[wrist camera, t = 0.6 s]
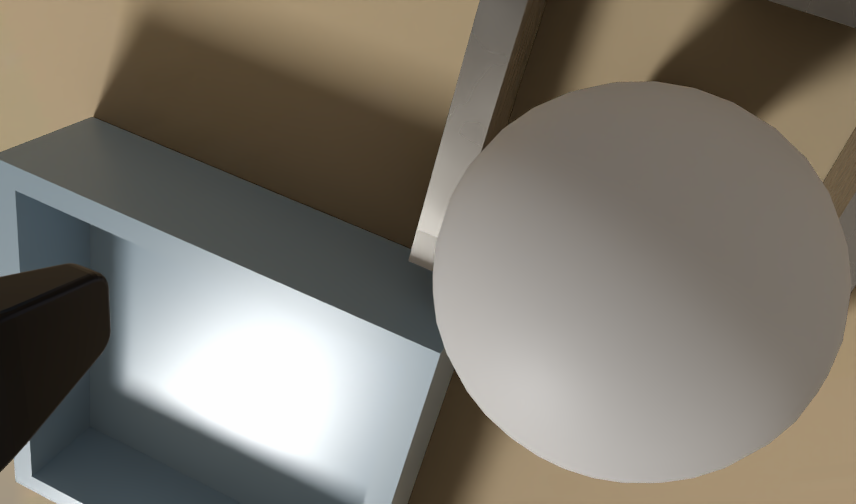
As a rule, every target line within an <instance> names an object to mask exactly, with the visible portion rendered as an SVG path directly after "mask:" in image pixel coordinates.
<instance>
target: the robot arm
mask: <svg viewBox="0 0 856 504" xmlns="http://www.w3.org/2000/svg"><path fill="white" fill-rule="evenodd" d="M110 334H111V319H110V299H109V285H108V282H107V280H106V278H105V276H103V275H102V274H101V273H99V272H96V271H94V270H91V269H89V268H86V267H84V266H81V265H79V264H74V263H67V264H61V265H56V266H51V267H46V268H41V269H36V270H31V271H26V272H21V273H16V274H11V275H6V276H1V277H0V472H1V471H2V470H3V469H4V468H5V467H6V466H7V465H8V464H9V463H10V462H11V461H12V460H13V458H14V457H15V456H16V455H17V454H18V453H19V452H20V451H21V450H22V449H23V447H24V446H25V445H26V444H27V443H28V442H29V441H30V440H31V438H32V437H33V436H34V435H35V434H36V432H37V431H38V430H39V429H40V428H41V426H42V425H43V424H44V423H45V422H46V420H47V419H48V418H49V417H50V416H51V414H52V413H53V412H54V411H55V409H56V408H57V407H58V406H59V405H60V403H61V402H62V401H63V400H64V399H65V397H66V396H67V395H68V394H69V393H70V391H71V390H72V389H73V388H74V387H75V385H76V384H77V383H78V382H79V381H80V379H81V378H82V377H83V376H84V375H85V373H86V372H87V371H88V370H89V369H90V367H91V366H92V365H93V364H94V363H95V361H96V360H97V359H98V358H99V356H100V355H101V354H102V353H103V351H104V350H105V348H106V346H107V344H108V341H109V339H110Z"/></svg>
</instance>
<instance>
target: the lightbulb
mask: <svg viewBox="0 0 856 504" xmlns="http://www.w3.org/2000/svg"><path fill="white" fill-rule="evenodd" d="M851 287H852V283H851V273H850V263H849V254H848V245H847V242H846V239H845V236H844V233H843V229H842V227H841V224H840V221H839V218H838V216H837V213H836V210H835V207H834V205H833V202H832V199H831V196H830V194H829V192H828V190H827V189H826V187H825V186H824V184H823V183H822V181H821V180H820V178H819V177H818V175H817V174H816V172H815V171H814V169H813V167H812V166H811V164H810V163H809V161H808V160H807V158H806V157H805V156H803V155H802V154H801V153H800V152H799V151H798V150H797V149H796V148H795V147H794V146H793V145H792V144H791V143H790V142H789V141H788V140H787V139H786V138H785V137H784V136H783V135H782V134H781V133H780V132H779V131H778V130H776V129H775V128H774V127H772V126H770V125H769V124H767V123H766V122H764V121H762V120H761V119H759V118H758V117H756V116H754V115H753V114H751V113H750V112H748V111H746V110H745V109H743V108H742V107H740V106H738V105H737V104H735V103H733V102H731V101H728V100H726V99H723V98H720V97H718V96H715V95H712V94H710V93H707V92H704V91H702V90H699V89H696V88H692V87H686V86H680V85H674V84H668V83H662V82H656V81H652V82H616V83H609V84H604V85H600V86H595V87H591V88H586V89H581V90H577V91H572V92H568V93H566V94H564V95H561V96H559V97H557V98H555V99H552V100H550V101H548V102H545V103H543V104H541V105H538V106H536V107H534V108H532V109H531V110H529V111H528V112H526V113H525V114H524V115H522V116H521V117H519V118H518V119H516V120H515V121H514V122H512V123H511V124H509V125H508V126H506V127H505V128H504V129H502V130H501V131H500V132H499V134H498V135H497V136H496V137H495V138H494V139H493V140H492V141H491V142H490V143H489V144H488V145H487V146H486V147H485V149H484V150H483V151H482V152H481V153H480V154H479V155H478V156H477V157H476V158H475V159H474V161H473V162H472V163H471V164H470V165H469V166H468V168H467V170H466V171H465V173H464V175H463V176H462V178H461V180H460V181H459V183H458V185H457V186H456V188H455V190H454V192H453V193H452V195H451V197H450V200H449V204H448V207H447V210H446V213H445V216H444V219H443V222H442V225H441V228H440V231H439V234H438V238H437V241H436V246H435V256H434V267H433V297H434V306H435V314H436V323H437V326H438V329H439V332H440V335H441V338H442V341H443V344H444V347H445V350H446V353H447V355H448V357H449V359H450V361H451V363H452V365H453V367H454V368H455V370H456V372H457V374H458V376H459V378H460V379H461V381H462V383H463V385H464V387H465V389H466V390H467V392H468V393H469V395H470V396H471V397H472V398H473V400H474V401H475V402H476V403H477V405H478V406H479V407H480V408H481V410H482V411H483V412H484V413H485V415H486V416H487V417H488V418H490V419H491V420H492V421H493V422H494V423H495V424H496V425H497V426H498V427H499V428H500V429H502V430H503V431H504V432H505V433H506V434H507V435H508V436H509V437H511V438H512V439H513V440H515V441H516V442H518V443H519V444H521V445H522V446H524V447H525V448H527V449H528V450H530V451H531V452H533V453H534V454H536V455H537V456H539V457H541V458H543V459H545V460H547V461H549V462H551V463H553V464H555V465H557V466H559V467H561V468H564V469H566V470H569V471H572V472H576V473H579V474H582V475H585V476H588V477H592V478H597V479H603V480H609V481H615V482H621V483H663V482H670V481H677V480H684V479H690V478H695V477H698V476H701V475H705V474H708V473H711V472H714V471H717V470H720V469H723V468H726V467H728V466H729V465H731V464H733V463H735V462H737V461H739V460H740V459H742V458H744V457H746V456H748V455H750V454H751V453H753V452H755V451H757V450H759V449H760V448H762V447H764V446H766V445H768V444H769V443H771V442H772V441H773V440H774V439H775V438H776V437H778V436H779V435H780V434H781V433H782V432H784V431H785V430H786V429H787V428H788V427H790V426H791V425H792V424H793V423H794V422H795V421H796V420H797V419H798V418H799V416H800V415H801V414H802V412H803V411H804V410H805V408H806V407H807V406H808V405H809V403H810V402H811V401H812V399H813V398H814V397H815V395H816V394H817V392H818V391H819V389H820V388H821V386H822V384H823V383H824V381H825V379H826V378H827V376H828V374H829V372H830V369H831V367H832V365H833V362H834V360H835V358H836V355H837V353H838V351H839V348H840V346H841V344H842V341H843V336H844V330H845V325H846V319H847V313H848V306H849V300H850V293H851Z"/></svg>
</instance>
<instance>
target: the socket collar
mask: <svg viewBox="0 0 856 504" xmlns="http://www.w3.org/2000/svg"><path fill="white" fill-rule="evenodd" d="M768 1H771V2H774V3H778V4H781V5H784V6H787V7H790V8H793V9H796V10H799V11H803V12H806V13H809V14H812V15H815V16H818V17H821V18H825V19H828V20H831V21H834V22H837V23H840V24H843V25H846V26H850V27H853V28H856V0H768ZM546 2H547V0H480V2H479V5H478V9H477V12H476V16H475V20H474V23H473V27H472V31H471V34H470V38H469V42H468V45H467V49H466V52H465V56H464V60H463V63H462V67H461V71H460V74H459V78H458V82H457V85H456V89H455V93H454V96H453V100H452V103H451V107H450V111H449V114H448V118H447V122H446V125H445V129H444V133H443V136H442V140H441V143H440V147H439V151H438V154H437V158H436V162H435V165H434V169H433V173H432V176H431V180H430V183H429V187H428V191H427V194H426V198H425V202H424V205H423V209H422V213H421V216H420V220H419V223H418V227H417V231H416V234H415V238H414V242H413V245H412V249H411V253H410V256H409V260H408V261H409V262H412V263H414V264H416V265H419V266H421V267H424V268H426V269H428V270H431V271H433V267H434V256H435V246H436V241H437V238H438V234H439V231H440V228H441V225H442V222H443V219H444V216H445V213H446V210H447V207H448V204H449V200H450V197H451V195H452V193H453V192H454V190H455V188H456V186H457V185H458V183H459V181H460V180H461V178H462V176H463V175H464V173H465V171H466V170H467V168H468V166H469V165H470V164H471V163H472V162H473V161H474V159H475V158H476V157H477V156H478V155H479V154H480V153H481V152H482V151H483V150H484V149H485V147H486V146H487V145H488V144H489V143H490V142H491V141H492V140H493V139H494V138H495V137H496V136H497V135H498V134H499V132H500V131H501V130H502V129H504V128H505V127H506V126H507V123H508V120H509V117H510V114H511V111H512V107H513V104H514V101H515V98H516V95H517V92H518V89H519V86H520V83H521V80H522V76H523V73H524V70H525V67H526V64H527V61H528V58H529V55H530V52H531V48H532V45H533V42H534V39H535V36H536V33H537V30H538V27H539V24H540V21H541V17H542V14H543V11H544V8H545V5H546ZM823 184H824V186H825V187H826V189H827V190H828V192H829V194H830V196H831V199H832V202H833V205H834V207H835V210H836V213H837V216H838V218H839V221H840V224H841V227H842V229H843V233H844V236H845V239H846V242H847V245H848V254H849V263H850V273H851V283H852V287H851V292H852V290H853V289H854V287H855V286H856V128H855V129H854V131H853V133H852V134H851V136H850V138H849V140H848V141H847V143H846V145H845V146H844V148H843V150H842V151H841V153H840V155H839V156H838V158H837V160H836V162H835V163H834V165H833V167H832V168H831V170H830V172H829V173H828V175H827V177H826V178H825V180H824V182H823Z"/></svg>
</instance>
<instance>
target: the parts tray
mask: <svg viewBox="0 0 856 504" xmlns="http://www.w3.org/2000/svg"><path fill="white" fill-rule="evenodd" d="M410 253H411V249H409V248H407V247H404V246H402V245H400V244H397V243H395V242H392V241H390V240H388V239H385V238H383V237H380V236H378V235H376V234H373V233H371V232H368V231H366V230H364V229H361V228H359V227H356V226H354V225H352V224H349V223H347V222H344V221H342V220H340V219H337V218H335V217H332V216H330V215H327V214H325V213H323V212H320V211H318V210H315V209H313V208H311V207H308V206H306V205H303V204H301V203H299V202H296V201H294V200H291V199H289V198H287V197H284V196H282V195H279V194H277V193H275V192H272V191H270V190H267V189H265V188H262V187H260V186H258V185H255V184H253V183H250V182H248V181H246V180H243V179H241V178H238V177H236V176H234V175H231V174H229V173H226V172H224V171H222V170H219V169H217V168H214V167H212V166H210V165H207V164H205V163H202V162H200V161H198V160H195V159H193V158H190V157H188V156H185V155H183V154H181V153H178V152H176V151H173V150H171V149H169V148H166V147H164V146H161V145H159V144H157V143H154V142H152V141H149V140H147V139H145V138H142V137H140V136H137V135H135V134H133V133H130V132H128V131H125V130H123V129H121V128H118V127H116V126H113V125H111V124H108V123H106V122H104V121H101V120H99V119H96V118H94V117H90V118H88V119H85V120H83V121H80V122H77V123H75V124H72V125H70V126H67V127H64V128H62V129H59V130H57V131H54V132H52V133H49V134H46V135H44V136H41V137H39V138H36V139H33V140H31V141H28V142H26V143H23V144H20V145H18V146H15V147H13V148H10V149H7V150H5V151H2V152H0V277H1V276H6V275H11V274H16V273H21V272H26V271H31V270H36V269H41V268H46V267H51V266H56V265H61V264H67V263H74V264H79V265H81V266H84V267H86V268H89V269H91V270H94V271H96V272H99V273H101V274H102V275H103V276H105V278H106V280H107V282H108V285H109V299H110V319H111V334H110V339H109V341H108V344H107V346H106V348H105V350H104V351H103V353H102V354H101V355H100V356H99V358H98V359H97V360H96V361H95V363H94V364H93V365H92V366H91V367H90V369H89V370H88V371H87V372H86V373H85V375H84V376H83V377H82V378H81V379H80V381H79V382H78V383H77V384H76V385H75V387H74V388H73V389H72V390H71V391H70V393H69V394H68V395H67V396H66V397H65V399H64V400H63V401H62V402H61V403H60V405H59V406H58V407H57V408H56V409H55V411H54V412H53V413H52V414H51V416H50V417H49V418H48V419H47V420H46V422H45V423H44V424H43V425H42V426H41V428H40V429H39V430H38V431H37V432H36V434H35V435H34V436H33V437H32V438H31V440H30V441H29V442H28V443H27V444H26V445H25V446H24V447H23V449H22V450H21V451H20V452H19V453H18V454H17V455H16V456H15V457H14V466H15V479H16V482H17V483H19V484H21V485H23V486H25V487H27V488H29V489H31V490H32V491H34V492H36V493H38V494H40V495H42V496H44V497H46V498H47V499H49V500H51V501H53V502H55V503H57V504H408V501H409V498H410V495H411V492H412V490H413V487H414V484H415V481H416V478H417V475H418V472H419V469H420V466H421V464H422V461H423V458H424V455H425V452H426V449H427V446H428V443H429V440H430V438H431V435H432V432H433V429H434V426H435V423H436V420H437V417H438V415H439V412H440V409H441V406H442V403H443V400H444V397H445V394H446V391H447V389H448V386H449V383H450V380H451V377H452V374H453V371H454V367H453V365H452V363H451V361H450V359H449V357H448V355H447V353H446V350H445V347H444V344H443V341H442V338H441V335H440V332H439V329H438V326H437V323H436V314H435V306H434V297H433V271H431V270H428V269H426V268H424V267H421V266H419V265H416V264H414V263H412V262H409V261H408V260H409V256H410Z"/></svg>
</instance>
